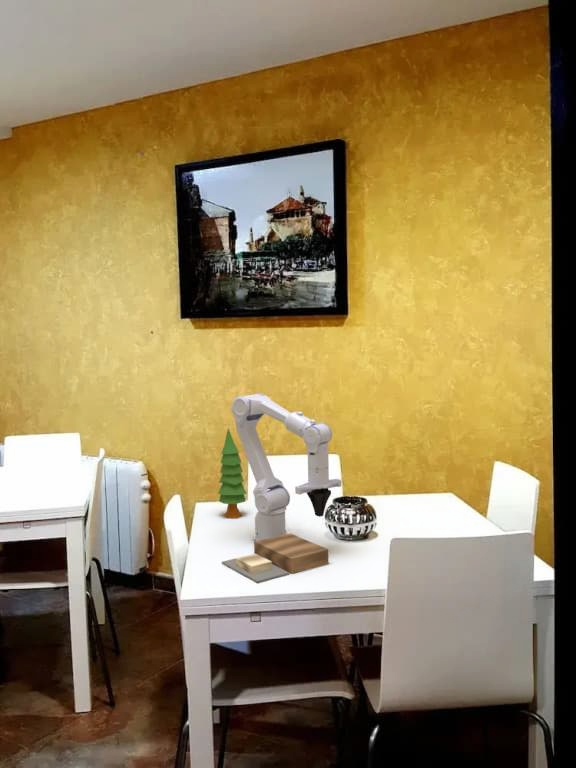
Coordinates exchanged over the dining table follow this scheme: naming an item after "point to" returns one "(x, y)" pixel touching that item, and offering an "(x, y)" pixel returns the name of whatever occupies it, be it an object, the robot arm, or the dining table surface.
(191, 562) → the dining table surface
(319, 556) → the walnut deck
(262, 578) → the rubber mat
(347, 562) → the dining table surface
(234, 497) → the decorative tree
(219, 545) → the dining table surface
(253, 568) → the birch tile
